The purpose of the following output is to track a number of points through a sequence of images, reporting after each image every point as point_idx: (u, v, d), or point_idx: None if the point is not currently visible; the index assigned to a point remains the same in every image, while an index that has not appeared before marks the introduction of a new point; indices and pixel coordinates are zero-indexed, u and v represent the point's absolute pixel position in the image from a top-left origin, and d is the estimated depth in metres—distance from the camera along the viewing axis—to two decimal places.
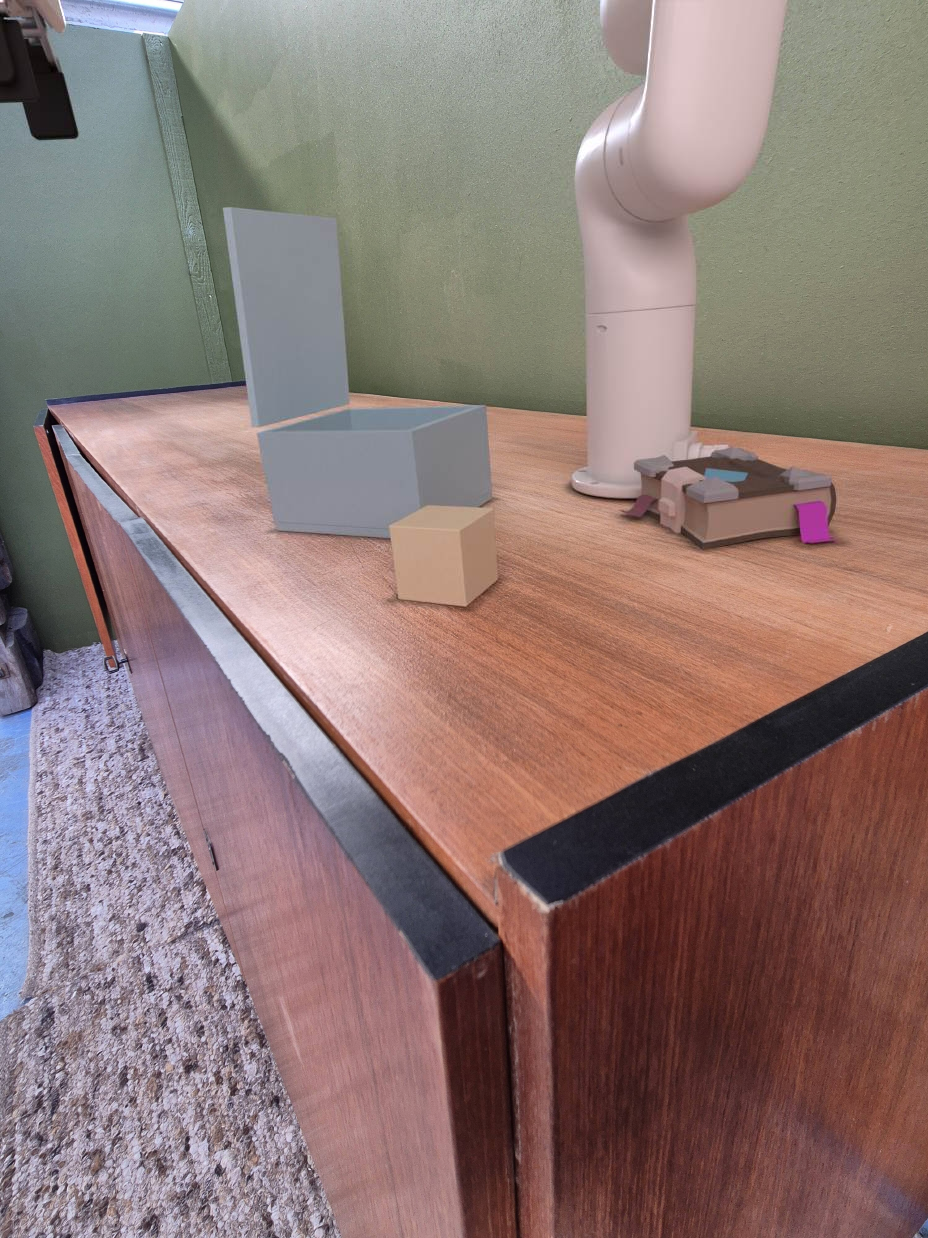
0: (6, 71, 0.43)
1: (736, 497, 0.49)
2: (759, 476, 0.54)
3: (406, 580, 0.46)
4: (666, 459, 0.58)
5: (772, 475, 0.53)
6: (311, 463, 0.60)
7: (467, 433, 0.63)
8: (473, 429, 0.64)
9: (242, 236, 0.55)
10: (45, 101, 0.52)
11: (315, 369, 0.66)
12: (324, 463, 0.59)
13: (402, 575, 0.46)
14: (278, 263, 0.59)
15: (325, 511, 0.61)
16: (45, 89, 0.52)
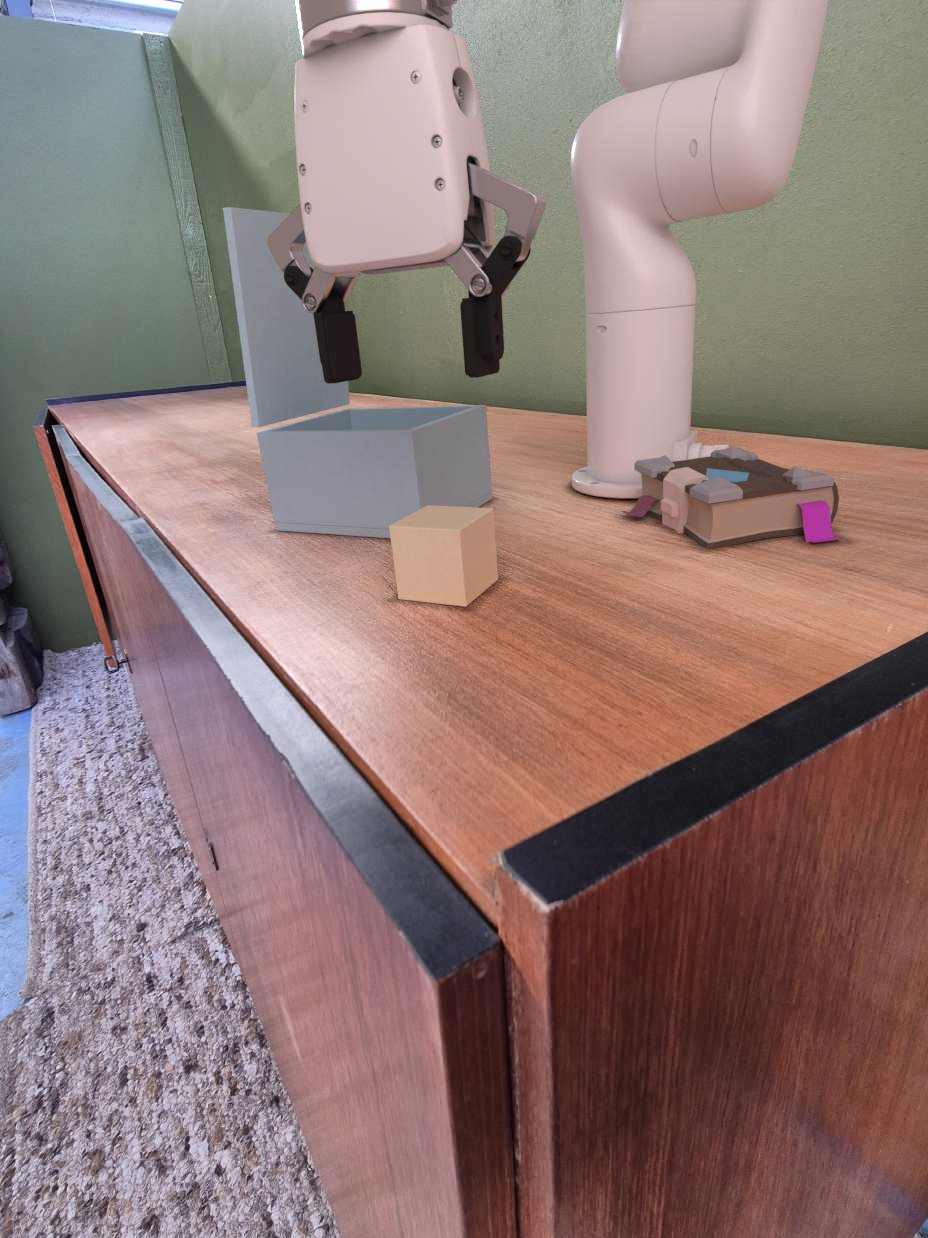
0: (501, 349, 0.40)
1: (740, 497, 0.49)
2: (761, 476, 0.54)
3: (406, 580, 0.46)
4: (667, 459, 0.58)
5: (774, 475, 0.53)
6: (311, 463, 0.60)
7: (467, 433, 0.63)
8: (473, 429, 0.64)
9: (242, 236, 0.55)
10: (344, 343, 0.43)
11: (315, 369, 0.66)
12: (324, 463, 0.59)
13: (402, 575, 0.46)
14: None
15: (325, 511, 0.61)
16: (345, 330, 0.43)
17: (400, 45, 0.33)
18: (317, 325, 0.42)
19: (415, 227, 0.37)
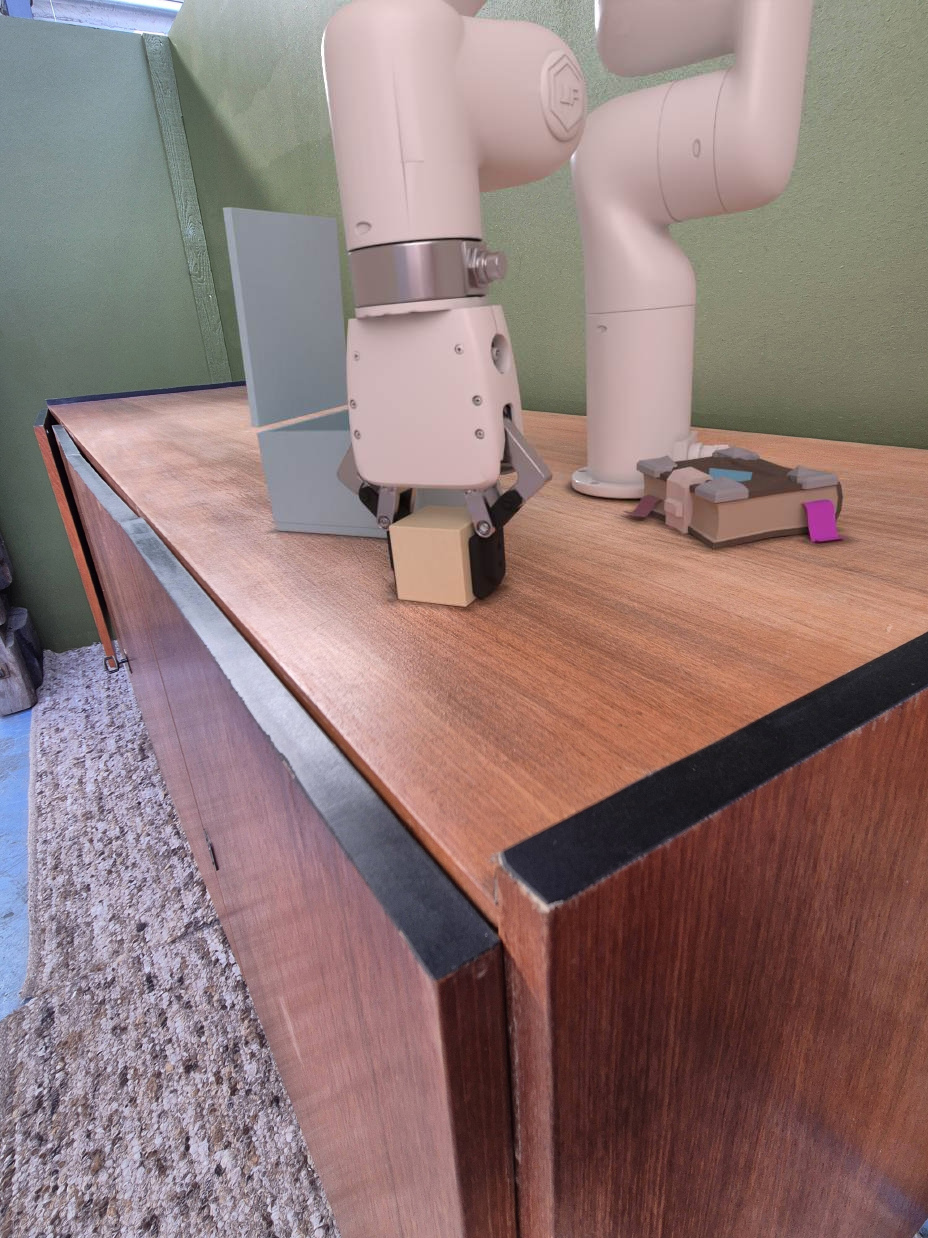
0: (503, 571, 0.45)
1: (746, 496, 0.49)
2: (764, 475, 0.54)
3: (406, 580, 0.46)
4: (670, 459, 0.57)
5: (778, 474, 0.53)
6: (311, 463, 0.60)
7: None
8: None
9: (242, 236, 0.55)
10: None
11: (315, 369, 0.66)
12: (324, 463, 0.59)
13: (402, 575, 0.46)
14: (278, 263, 0.59)
15: (325, 511, 0.61)
16: None
17: (445, 323, 0.38)
18: None
19: (456, 464, 0.41)
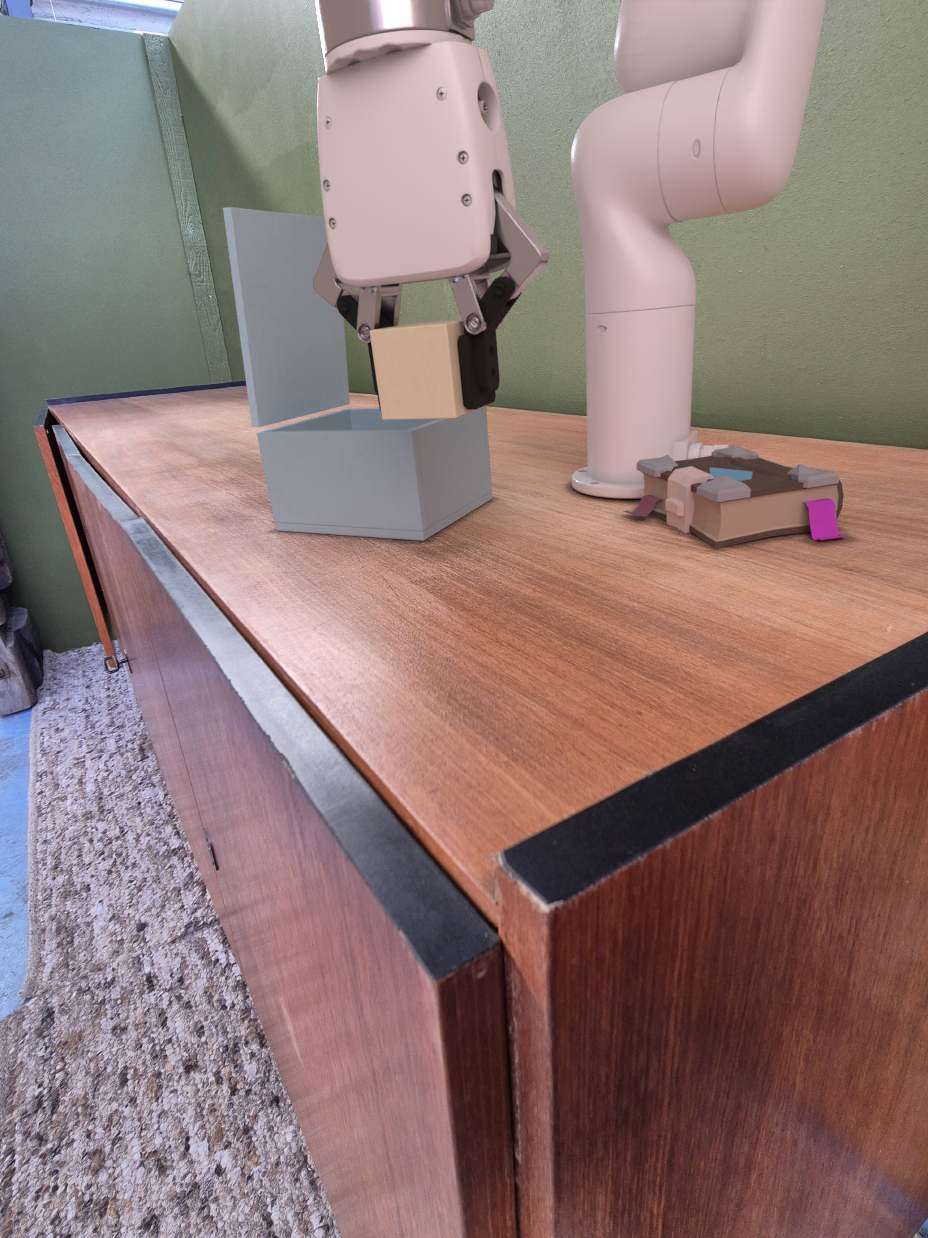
0: (496, 381, 0.41)
1: (748, 495, 0.49)
2: (765, 474, 0.54)
3: (390, 395, 0.41)
4: (670, 459, 0.58)
5: (779, 473, 0.53)
6: (311, 463, 0.60)
7: (467, 433, 0.63)
8: (473, 429, 0.64)
9: (242, 236, 0.55)
10: None
11: (315, 369, 0.66)
12: (324, 463, 0.59)
13: (385, 389, 0.41)
14: (278, 263, 0.59)
15: (325, 511, 0.61)
16: None
17: (425, 62, 0.34)
18: None
19: (441, 242, 0.37)
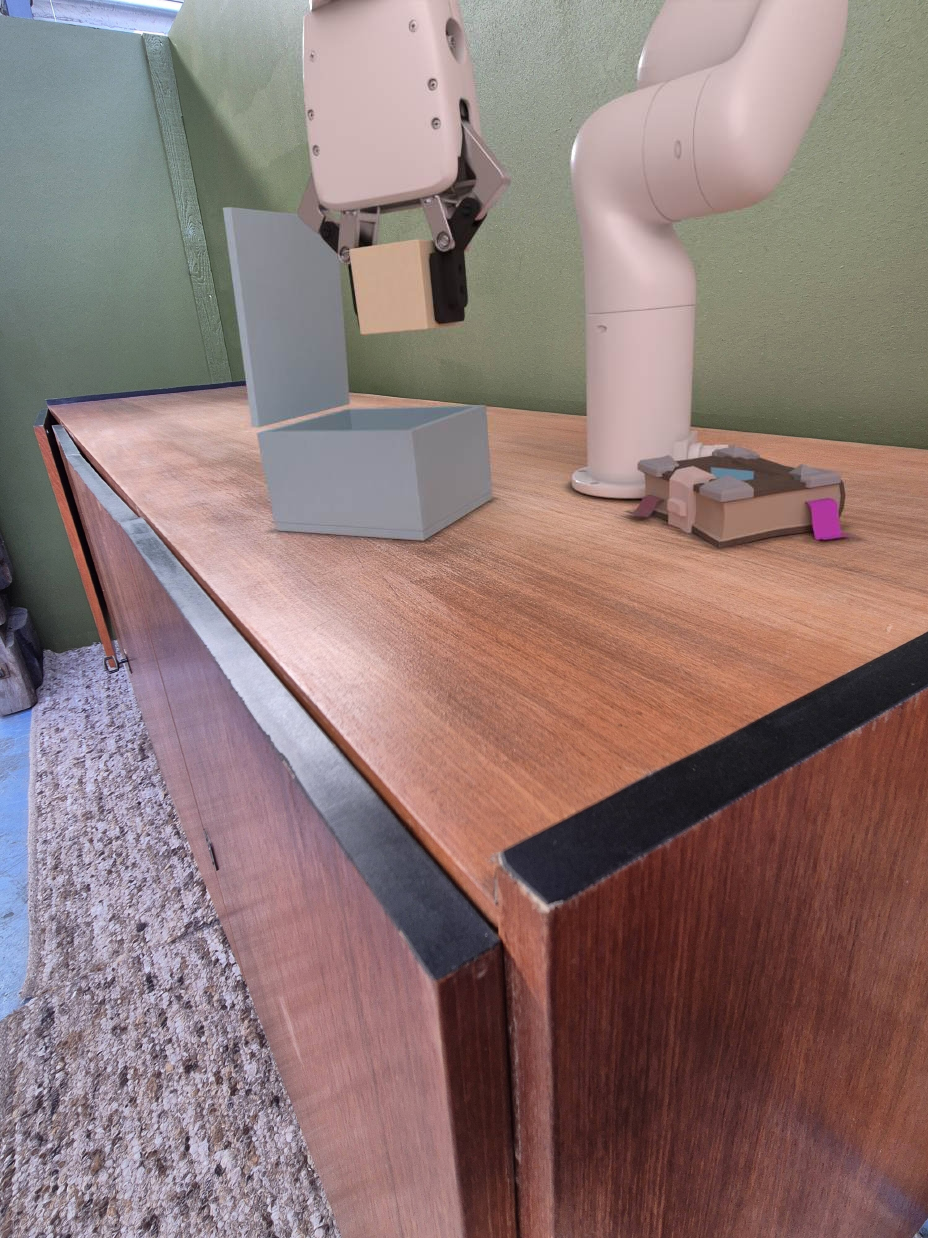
0: (465, 299, 0.45)
1: (752, 495, 0.49)
2: (767, 474, 0.54)
3: (368, 310, 0.45)
4: (671, 459, 0.57)
5: (781, 473, 0.53)
6: (311, 463, 0.60)
7: (467, 433, 0.63)
8: (473, 429, 0.64)
9: (242, 236, 0.55)
10: None
11: (315, 369, 0.66)
12: (324, 463, 0.59)
13: (363, 305, 0.45)
14: (278, 263, 0.59)
15: (325, 511, 0.61)
16: None
17: None
18: (352, 275, 0.46)
19: (414, 164, 0.41)
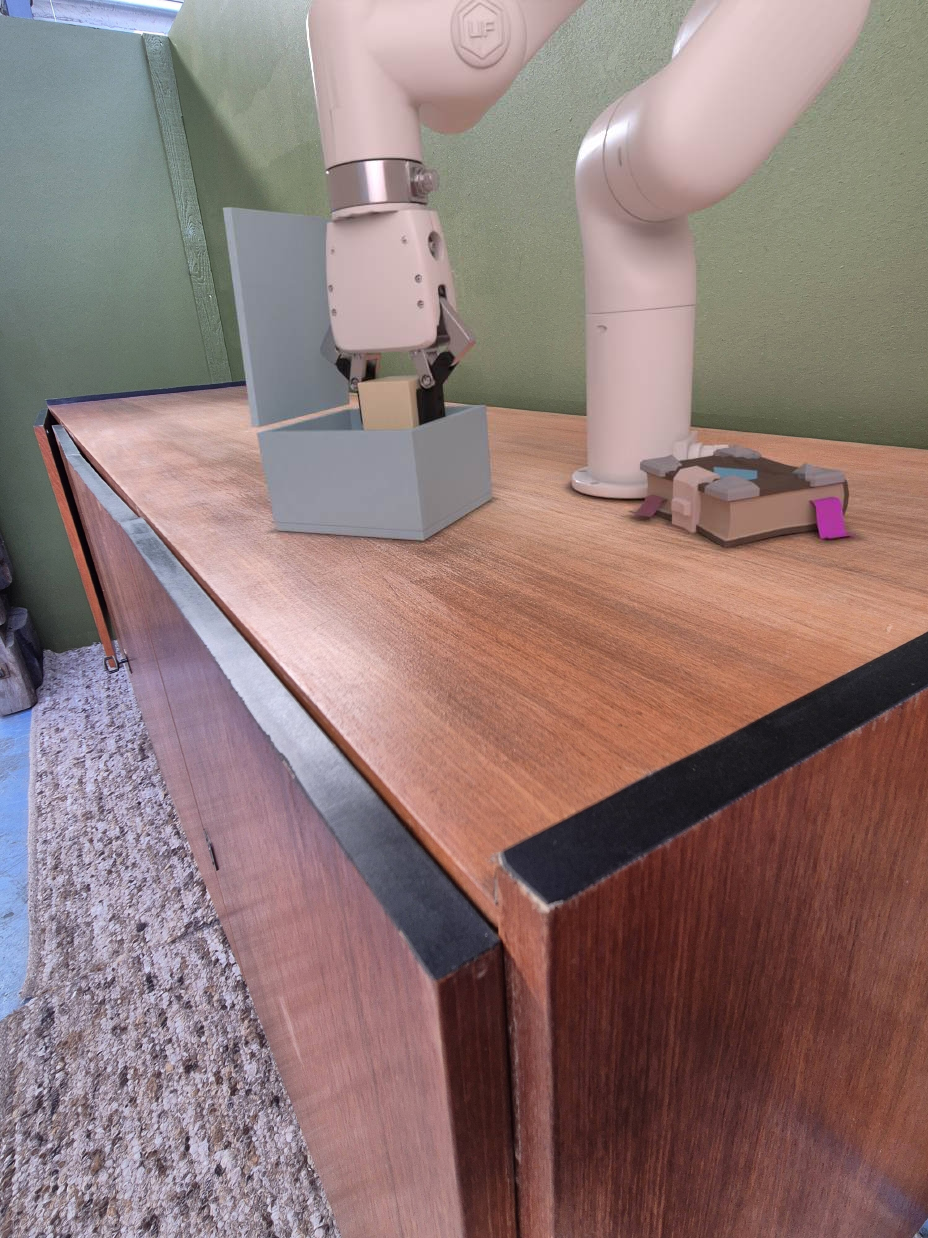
0: None
1: (757, 495, 0.49)
2: (770, 473, 0.54)
3: (371, 426, 0.61)
4: (674, 459, 0.57)
5: (784, 472, 0.53)
6: (311, 463, 0.60)
7: (467, 433, 0.63)
8: (473, 429, 0.64)
9: (242, 236, 0.55)
10: None
11: (315, 369, 0.66)
12: (324, 463, 0.59)
13: (368, 422, 0.61)
14: (278, 263, 0.59)
15: (325, 511, 0.61)
16: None
17: (395, 221, 0.53)
18: None
19: (405, 329, 0.56)
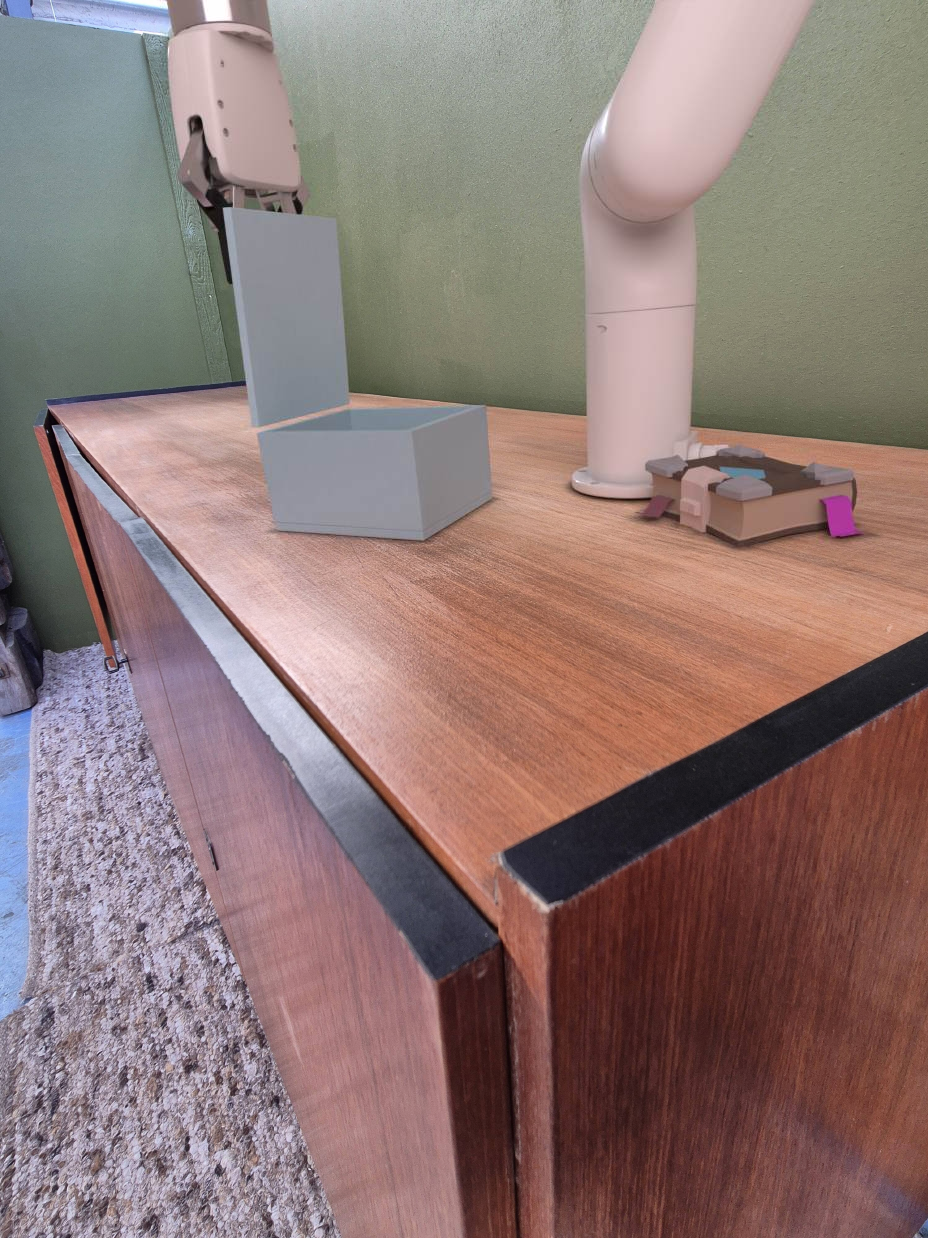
0: None
1: (770, 494, 0.49)
2: (777, 473, 0.54)
3: None
4: (680, 459, 0.57)
5: (792, 471, 0.53)
6: (311, 463, 0.60)
7: (467, 433, 0.63)
8: (473, 429, 0.64)
9: (242, 236, 0.55)
10: None
11: (315, 369, 0.66)
12: (324, 463, 0.59)
13: None
14: (278, 263, 0.59)
15: (325, 511, 0.61)
16: None
17: (272, 60, 0.58)
18: None
19: (286, 168, 0.61)
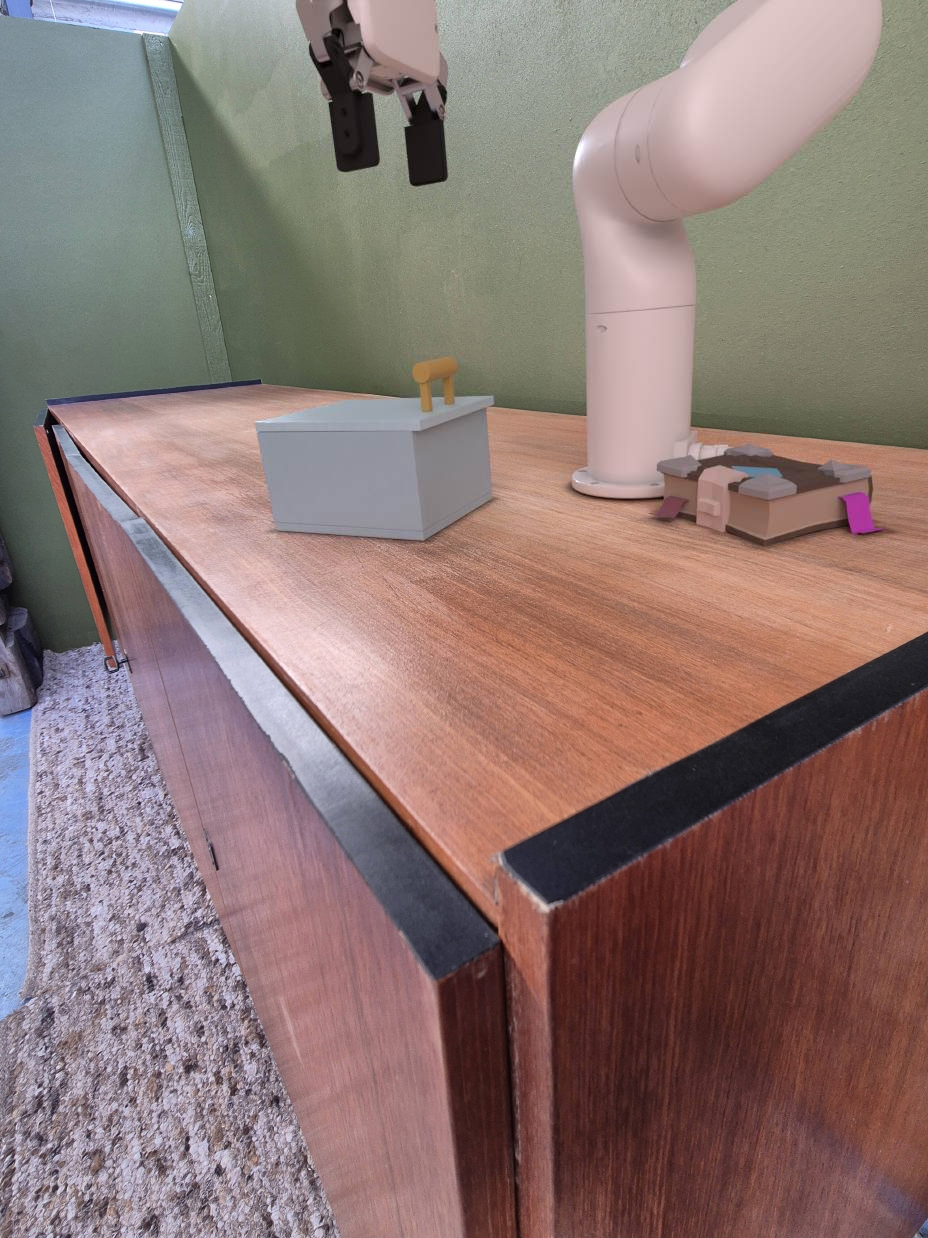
0: None
1: (795, 492, 0.49)
2: (793, 471, 0.54)
3: None
4: (693, 459, 0.57)
5: (808, 469, 0.53)
6: (311, 463, 0.60)
7: (467, 433, 0.63)
8: (473, 429, 0.64)
9: None
10: None
11: None
12: (324, 463, 0.59)
13: None
14: None
15: (325, 511, 0.61)
16: None
17: None
18: (370, 104, 0.46)
19: (428, 52, 0.50)
